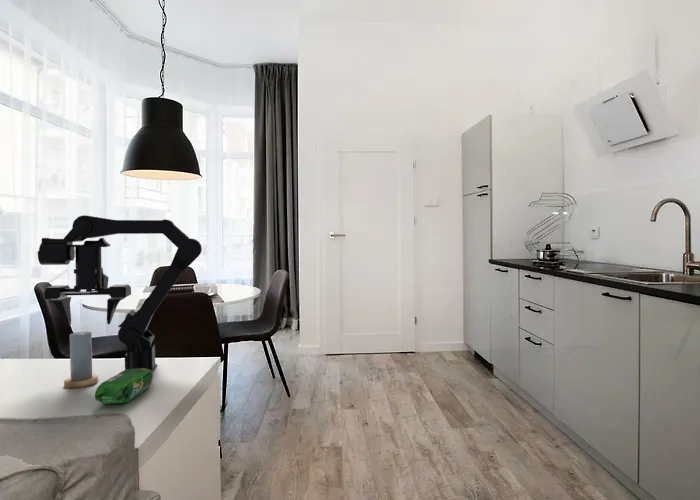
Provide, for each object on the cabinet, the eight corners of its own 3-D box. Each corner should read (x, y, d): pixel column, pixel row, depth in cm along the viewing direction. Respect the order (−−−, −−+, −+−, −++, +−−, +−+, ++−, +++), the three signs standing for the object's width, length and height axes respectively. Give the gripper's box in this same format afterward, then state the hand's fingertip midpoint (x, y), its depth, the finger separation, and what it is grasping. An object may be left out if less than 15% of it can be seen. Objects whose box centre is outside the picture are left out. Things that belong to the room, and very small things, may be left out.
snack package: (87, 412, 88) (87, 387, 87) (129, 384, 103) (128, 363, 103) (121, 412, 87) (121, 387, 87) (158, 385, 103) (157, 364, 103)
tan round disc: (102, 377, 108) (102, 373, 108) (91, 387, 101) (91, 382, 101) (72, 379, 107) (71, 374, 107) (58, 389, 100) (58, 384, 100)
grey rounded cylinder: (96, 375, 106) (95, 331, 106) (85, 381, 102) (84, 335, 101) (78, 375, 106) (77, 331, 106) (66, 381, 102) (65, 336, 101)
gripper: (136, 262, 119) (136, 317, 120) (61, 262, 115) (61, 319, 116) (125, 265, 108) (125, 326, 109) (41, 265, 104) (42, 328, 105)
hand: (89, 324), depth 110 cm, fingers open, 9 cm apart
